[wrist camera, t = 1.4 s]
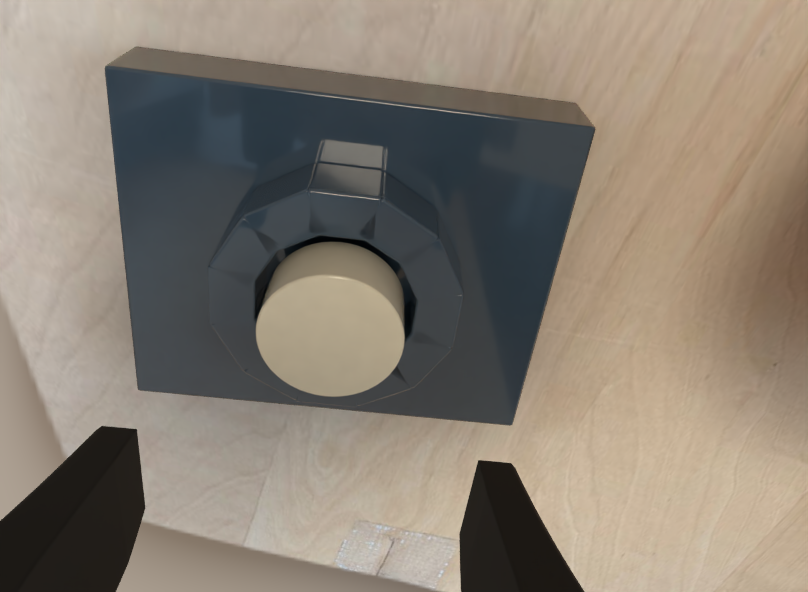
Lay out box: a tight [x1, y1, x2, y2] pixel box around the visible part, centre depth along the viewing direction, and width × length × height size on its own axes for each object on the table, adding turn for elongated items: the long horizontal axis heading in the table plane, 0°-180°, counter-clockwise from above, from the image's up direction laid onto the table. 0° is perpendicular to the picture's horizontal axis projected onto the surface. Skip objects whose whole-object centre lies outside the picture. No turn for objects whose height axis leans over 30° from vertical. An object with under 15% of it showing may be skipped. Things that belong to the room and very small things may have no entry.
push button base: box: [105, 47, 595, 425], centre depth 19 cm, size 12×10×4 cm
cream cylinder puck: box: [256, 242, 405, 397], centre depth 17 cm, size 4×4×2 cm
